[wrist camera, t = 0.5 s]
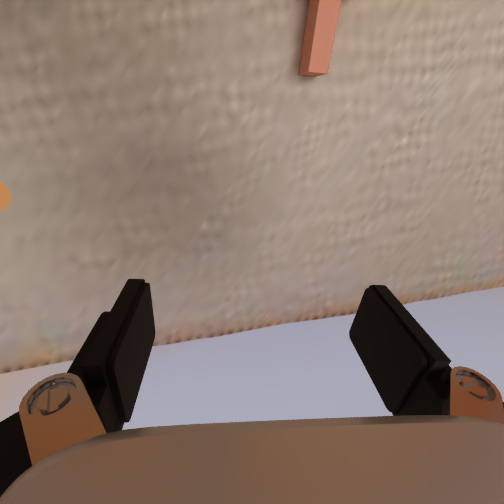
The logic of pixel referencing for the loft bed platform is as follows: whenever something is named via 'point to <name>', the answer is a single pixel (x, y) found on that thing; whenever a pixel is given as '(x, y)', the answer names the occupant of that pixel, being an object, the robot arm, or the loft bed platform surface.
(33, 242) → the loft bed platform surface
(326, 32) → the orange square loop
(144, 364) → the robot arm
